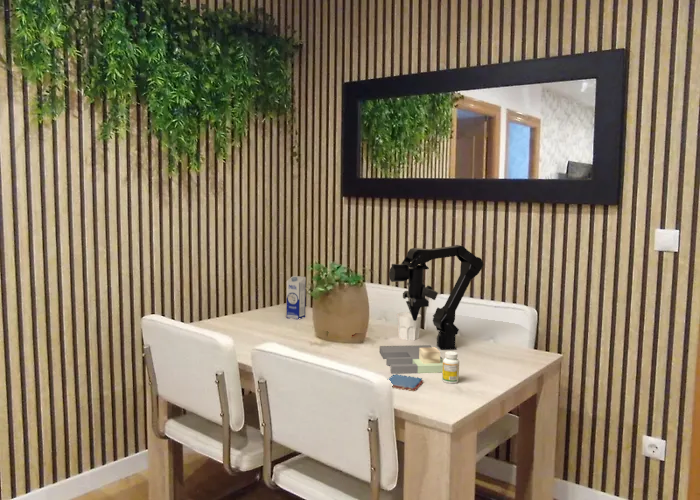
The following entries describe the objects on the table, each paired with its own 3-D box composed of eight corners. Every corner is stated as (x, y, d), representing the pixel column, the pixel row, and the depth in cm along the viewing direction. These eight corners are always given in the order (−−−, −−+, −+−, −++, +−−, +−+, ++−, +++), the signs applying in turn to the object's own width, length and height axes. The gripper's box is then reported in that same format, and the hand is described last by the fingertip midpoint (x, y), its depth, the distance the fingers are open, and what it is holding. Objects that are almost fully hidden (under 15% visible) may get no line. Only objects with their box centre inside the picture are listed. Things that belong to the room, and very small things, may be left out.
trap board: (430, 351, 226) (430, 345, 226) (448, 372, 200) (448, 365, 200) (379, 352, 224) (379, 345, 223) (391, 373, 198) (391, 366, 198)
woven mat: (414, 393, 180) (415, 387, 180) (383, 388, 185) (383, 382, 184) (424, 383, 190) (424, 377, 190) (393, 378, 194) (393, 372, 194)
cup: (412, 342, 239) (413, 318, 238) (392, 338, 245) (392, 315, 244) (424, 337, 247) (425, 314, 246) (404, 333, 253) (405, 311, 252)
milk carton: (305, 316, 283) (306, 276, 281) (298, 319, 277) (299, 278, 275) (293, 315, 286) (293, 275, 284) (286, 318, 280) (286, 277, 278)
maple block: (435, 358, 208) (435, 347, 208) (439, 363, 202) (440, 352, 202) (419, 358, 207) (419, 347, 207) (423, 363, 202) (423, 352, 201)
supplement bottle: (453, 385, 187) (454, 356, 186) (439, 381, 191) (439, 353, 190) (461, 381, 191) (462, 352, 190) (447, 377, 195) (448, 349, 194)
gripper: (442, 284, 216) (441, 325, 217) (429, 277, 234) (428, 314, 236) (413, 284, 215) (412, 326, 216) (402, 277, 233) (402, 315, 235)
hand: (414, 320), depth 226 cm, fingers closed
